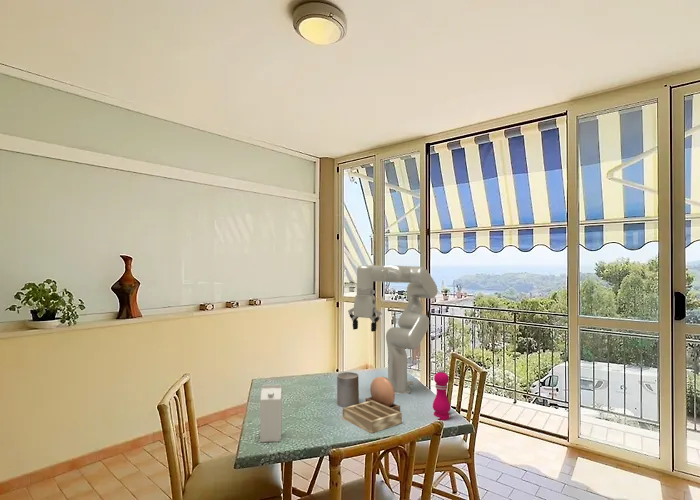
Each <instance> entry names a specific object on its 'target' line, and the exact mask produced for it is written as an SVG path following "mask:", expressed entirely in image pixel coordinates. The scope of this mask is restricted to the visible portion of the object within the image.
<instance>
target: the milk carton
mask: <svg viewBox="0 0 700 500" xmlns="http://www.w3.org/2000/svg"><path fill="white" fill-rule="evenodd" d="M259 404H260V405H259V406H260V407H259V409H260V416H259V442H260V443H265V442H266V443H268V442H271V443H272V442H281V438H282V433H283V386H282V384H262V385H261V391H260V403H259Z"/></svg>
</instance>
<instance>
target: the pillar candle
mask: <svg viewBox="0 0 700 500" xmlns="http://www.w3.org/2000/svg"><path fill="white" fill-rule="evenodd" d="M359 383H360V381H359V374H358V373H356V372H350V371H349V372H348V371H347V372H346V371H345V372H340V373H338V374H336V390H337V391H336V392H337V393H336V394H337V395H336V400H337V401H336V402H337V403H336V405H337V406H338V407H341V408H345V407H349V406H352V405H356V404H360V399H359V398H360V397H359V392H360V391H359V389H360V388H359V387H360V386H359Z"/></svg>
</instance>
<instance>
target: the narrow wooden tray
mask: <svg viewBox="0 0 700 500" xmlns="http://www.w3.org/2000/svg"><path fill="white" fill-rule="evenodd" d="M371 400H372V401H374V400H373V399H372V396H370V397H366V398H365V402H367V401H371ZM375 402H376V401H375ZM377 403H379V402H377ZM380 404H381V403H380ZM382 405H383V404H382ZM384 406H386V405H384ZM387 407H388V406H387ZM389 408H392V409H394V410H397V411H399V412H401V405H398V404H396V403H395V402H394V403H393V405H392V406H391V407H389Z"/></svg>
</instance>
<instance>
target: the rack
mask: <svg viewBox="0 0 700 500" xmlns="http://www.w3.org/2000/svg"><path fill="white" fill-rule="evenodd" d="M342 420H344V421H347V422H348V423H351V424H352V425H354V426H356V427H358V428H360V429H362V430H364V431H366V432H367V433H370V434H374V433H376V432H381V431H382V430H385V429H389V428H392V427H395V426H399V425H400V424H403V413H402V411H400V412H399V411H397V410H394V409H392V408H389V407H387V406H384V405H382V404H380V403H377V402H375V401H372V400H371V401H367V402H366V401H365V402H361V403H360V402H359V404H356V405H352V406H349V407H342Z"/></svg>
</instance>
